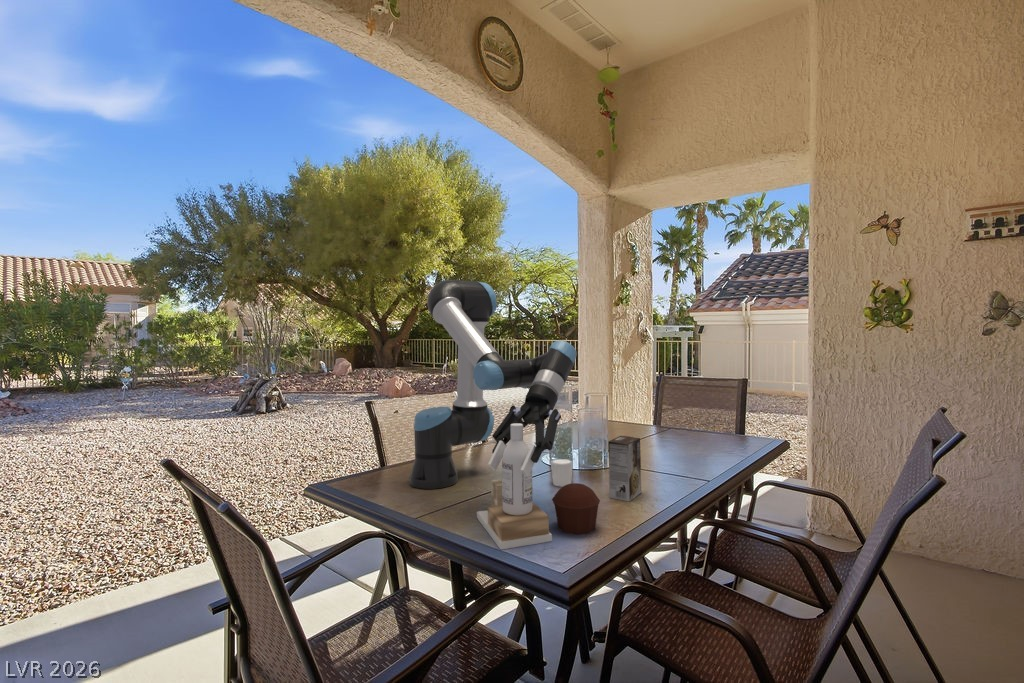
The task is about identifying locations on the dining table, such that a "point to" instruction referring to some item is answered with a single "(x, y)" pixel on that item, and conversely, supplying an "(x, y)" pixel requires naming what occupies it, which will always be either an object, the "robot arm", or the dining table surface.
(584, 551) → the dining table surface
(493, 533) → the base board
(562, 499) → the muffin
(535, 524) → the oak plinth
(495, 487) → the beech post
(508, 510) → the bath foam
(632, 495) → the coffee box
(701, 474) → the dining table surface
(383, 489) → the dining table surface
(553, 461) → the white cup
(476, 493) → the dining table surface
